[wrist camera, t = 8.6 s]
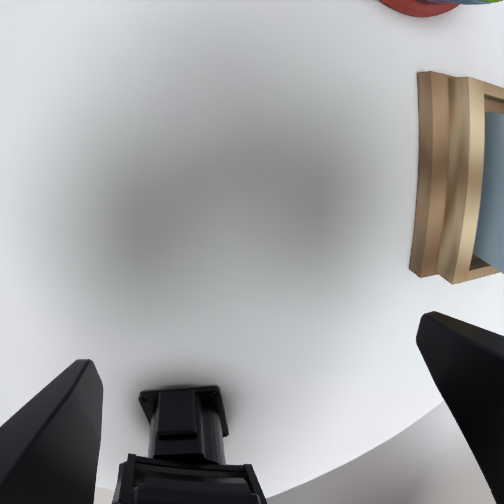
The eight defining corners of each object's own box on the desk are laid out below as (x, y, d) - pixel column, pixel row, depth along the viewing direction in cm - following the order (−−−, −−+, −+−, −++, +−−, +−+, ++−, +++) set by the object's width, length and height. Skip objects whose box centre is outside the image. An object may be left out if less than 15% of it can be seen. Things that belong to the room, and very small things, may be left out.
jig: (503, 250, 23) (528, 265, 20) (409, 269, 22) (435, 291, 19) (516, 99, 18) (546, 102, 15) (416, 72, 17) (451, 69, 13)
